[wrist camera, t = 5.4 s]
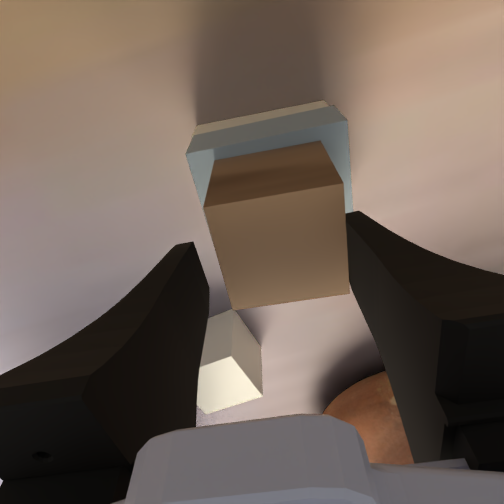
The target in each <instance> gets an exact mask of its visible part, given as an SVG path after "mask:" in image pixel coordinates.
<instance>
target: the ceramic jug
mask: <svg viewBox="0 0 504 504" xmlns="http://www.w3.org/2000/svg"><path fill="white" fill-rule="evenodd" d="M323 414H328V415H330V416H332V417H335V418H337V419H340V420H342V421H344V422H347V423H349V424H351V425H353V426H355V428H356V430H357V431H358V433H359V434H360V436H361V438H362V439H363V441H364V444H365V448H366V452H367V456H368V459H369V463H383V464H397V465H405V464H414V461H413V458H412V454H411V451H410V447H409V444H408V440H407V437H406V434H405V430H404V427H403V424H402V420H401V417H400V414H399V410H398V407H397V404H396V401H395V398H394V394H393V391H392V388H391V385H390V382H389V379H388V376H387V373H386V371H384V372H381V373H378V374H375V375H372V376H370V377H367V378H365V379H363V380H361V381H359V382H357V383H355V384H354V385H352V386H351V387H349V388H348V389H346V390H345V391H343V392H342V393H341V394H339V395H338V396H337V397H336V398H335V399H334V400H333V401H332V402H331V403H330V404H329V405H328V407H327V408H326V409H325V411H324V412H323Z"/></svg>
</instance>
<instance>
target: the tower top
mask: <svg viewBox="0 0 504 504" xmlns="http://www.w3.org/2000/svg"><path fill="white" fill-rule="evenodd" d="M320 140H321V142H322V144H323V146H324V148H325V149H326V151H327V153H328V155H329V157H330V159H331V161H332V162H333V164H334V166H335V168H336V170H337V172H338V174H339V175H340V177H341V179H342V181H343V183H344V198H345V213H350V212H353V201H352V185H351V170H350V154H349V138H348V123H347V119H346V118H345V117H344V116H343V115H342V114H341V113H340V111H339V110H338V109H337V108H336V107H335V106H334V105H333V106H328V107H323V108H319V109H314V110H309V111H305V112H300V113H295V114H291V115H286V116H281V117H277V118H272V119H267V120H263V121H258V122H253V123H249V124H244V125H239V126H235V127H230V128H225V129H221V130H216V131H211V132H207V133H202V134H198V135H194V136H193V138H192V141H191V143H190V145H189V147H188V150H187V152H186V157H187V160H188V164H189V167H190V170H191V173H192V176H193V180H194V183H195V186H196V189H197V193H198V196H199V199H200V202H201V205H202V209H203V206H204V201H205V197H206V193H207V189H208V185H209V181H210V176H211V172H212V168H213V164H214V160H219V159H224V158H229V157H235V156H240V155H245V154H251V153H256V152H261V151H267V150H272V149H277V148H283V147H288V146H293V145H299V144H304V143H309V142H315V141H320ZM203 212H204V209H203ZM204 215H205V213H204ZM205 218H206V216H205ZM206 222H207V220H206ZM207 225H208V223H207ZM208 228H209V227H208ZM209 231H210V230H209ZM211 238H212V237H211ZM212 241H213V240H212Z"/></svg>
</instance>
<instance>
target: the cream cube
mask: <svg viewBox="0 0 504 504" xmlns="http://www.w3.org/2000/svg"><path fill="white" fill-rule="evenodd" d="M262 396H263V389H262V361H261V346H260V345H259V343H258V342H257V341H256V339H255V338H254V336H253V335H252V334H251V332H250V331H249V329H248V328H247V326H246V325H245V324H244V322H243V321H242V319H241V318H240V317H239V315H238V314H237V312H236V311H235V310H233V309H231V310H228V311H226V312H223V313H220V314H218V315H215V316H213V317H210V318H208V322H207V328H206V334H205V340H204V346H203V351H202V357H201V363H200V369H199V377H198V391H197V406H198V407H199V408H200V409H201V410H202V411H203V412H204V413H205V414H209V413H212V412H215V411H218V410H221V409H224V408H227V407H231V406H234V405H237V404H240V403H243V402H246V401H249V400H253V399H256V398H259V397H262Z"/></svg>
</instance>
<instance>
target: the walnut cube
mask: <svg viewBox="0 0 504 504" xmlns="http://www.w3.org/2000/svg"><path fill="white" fill-rule="evenodd" d="M203 209H204V213H205V216H206V220H207V223H208V227H209V230H210V234H211V237H212V240H213V244H214V247H215V251H216V254H217V258H218V261H219V265H220V268H221V271H222V275H223V278H224V282H225V285H226V289H227V292H228V296H229V299H230V303H231V306H232V309H233V310H240V309H247V308H254V307H260V306H267V305H274V304H281V303H288V302H295V301H302V300H309V299H316V298H323V297H330V296H337V295H343V294H350V288H349V270H348V252H347V234H346V216H345V198H344V183H343V181H342V179H341V177H340V175H339V174H338V172H337V170H336V168H335V166H334V164H333V162H332V161H331V159H330V157H329V155H328V153H327V151H326V149H325V148H324V146H323V144H322V142H321V140H320V141H315V142H309V143H304V144H299V145H293V146H288V147H283V148H277V149H272V150H267V151H261V152H256V153H251V154H245V155H240V156H235V157H229V158H224V159H219V160H214V164H213V168H212V172H211V176H210V181H209V185H208V189H207V193H206V197H205V201H204V206H203Z"/></svg>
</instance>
